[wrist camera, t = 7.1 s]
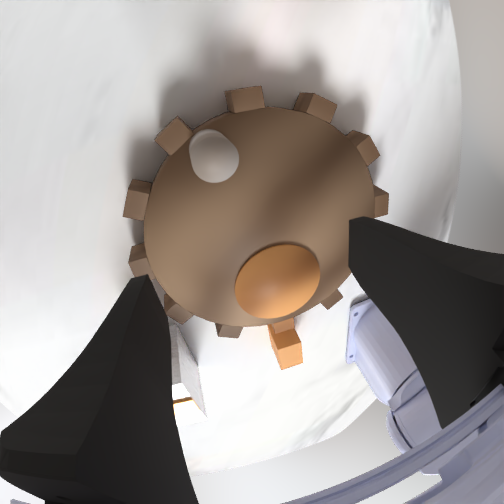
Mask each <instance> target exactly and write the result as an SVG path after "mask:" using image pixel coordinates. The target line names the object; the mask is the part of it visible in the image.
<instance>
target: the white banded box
mask: <svg viewBox="0 0 504 504" xmlns="http://www.w3.org/2000/svg"><path fill="white" fill-rule="evenodd" d="M169 330H170V337H171V354H172V388H173V403H174V411H175V417H176V422H177V426H180V425H185V424H190V423H195V422H200V421H205V420H207V416H206V411H205V405H204V400H203V394H202V388H201V382H200V376H199V370H198V365H197V363H196V362H195V360H194V358H193V356H192V354H191V352H190V350H189V348H188V346H187V344H186V342H185V340H184V338H183V336H182V334H181V332H180V330H179V328H178V326H177V324H173V325H169Z"/></svg>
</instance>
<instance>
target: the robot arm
mask: <svg viewBox="0 0 504 504" xmlns="http://www.w3.org/2000/svg"><path fill="white" fill-rule="evenodd" d="M348 267H349V268H350V270H351V272H352V273H353V275H354V277H355V278H356V280H357V282H358V283H359V285H360V286H361V288H362V289H363V290H364V291H365V293H366V294H367V295H368V296H369V298H370V299H368V300H366V301H363V302H360V303H358V304H355V305H353V306H352V307H351V309H350V321H349V333H348V343H347V353H346V363H347V364H350V363H353V362H355V363H356V364H357V366H358V368H359V369H360V371H361V373H362V374H363V376H364V378H365V379H366V381H367V383H368V384H369V386H370V388H371V389H372V391H373V393H374V394H375V396H376V397H377V399H379V400H380V401H381V402H382V403H384V404H386V405H388V406H390V408H391V410H389V411H388V412H387V419H386V426H387V430H388V432H389V435H390V437H391V439H392V441H393V442H394V444H395V445H396V447H397V448H398V449H399V451H400V452H401V453H402V455H400V456H398V457H396V458H394V459H393V460H391V461H389V462H387V463H385V464H383V465H381V466H379V467H377V468H375V469H373V470H371V471H369V472H366V473H364V474H362V475H360V476H358V477H355V478H353V479H351V480H349V481H346V482H344V483H341V484H339V485H336V486H333V487H331V488H328V489H325V490H323V491H320V492H317V493H314V494H311V495H309V496H305V497H302V498H299V499H296V500H292V501H289V502H285V503H282V504H355V503H358V502H360V501H362V500H364V499H366V498H369V497H371V496H373V495H375V494H377V493H379V492H381V491H383V490H385V489H387V488H389V487H391V486H393V485H395V484H397V483H398V482H400V481H402V480H404V479H406V478H407V477H409V476H411V475H413V474H414V473H416V472H417V471H420V472H421V473H422V474H424V475H440V476H441V478H442V481H440V482H439V483H437V484H436V485H434V486H432V487H431V488H429V489H428V490H426V491H424V492H423V493H421V494H419V495H418V496H416V497H414V498H413V499H411V500H409V501H407V502H405V503H404V504H504V254H498V253H491V252H485V251H479V250H474V249H469V248H465V247H461V246H457V245H453V244H449V243H446V242H442V241H439V240H436V239H433V238H429V237H426V236H423V235H420V234H417V233H414V232H412V231H409V230H406V229H403V228H400V227H397V226H395V225H392V224H389V223H386V222H383V221H380V220H376V219H373V218H369V217H365V216H362V217H358V218H354V219H350V220H349V255H348ZM0 476H1V477H2V478H3V479H4V480H6V481H7V482H9V483H11V484H12V485H14V486H16V487H18V488H20V489H22V490H24V491H26V492H28V493H30V494H32V495H34V496H36V497H38V498H41V499H43V500H45V504H199V503H198V500H197V498H196V494H195V492H194V489H193V486H192V483H191V480H190V476H189V473H188V469H187V466H186V462H185V458H184V455H183V450H182V446H181V442H180V437H179V433H178V428H177V422H176V417H175V411H174V403H173V388H172V354H171V337H170V330H169V323H168V317H167V315H166V313H165V311H164V309H163V307H162V304H161V302H160V300H159V298H158V296H157V293H156V291H155V289H154V287H153V285H152V282H151V280H150V278H149V275H148V274H145V275H142V276H138V277H135V278H131V280H130V281H129V282H128V284H127V285H126V287H125V288H124V290H123V292H122V293H121V295H120V296H119V298H118V299H117V301H116V303H115V304H114V306H113V307H112V309H111V310H110V312H109V314H108V315H107V317H106V318H105V320H104V321H103V323H102V324H101V326H100V327H99V329H98V330H97V332H96V333H95V335H94V336H93V338H92V339H91V341H90V342H89V343H88V345H87V346H86V348H85V349H84V350H83V352H82V353H81V354H80V355H79V357H78V358H77V359H76V360H75V362H74V363H73V364H72V365H71V367H70V368H69V369H68V370H67V371H66V372H65V373H64V374H63V376H62V377H61V378H60V379H59V380H58V381H57V382H56V383H55V384H54V386H53V387H52V388H51V389H50V390H49V391H48V392H47V393H46V394H45V395H44V396H43V397H42V398H41V399H40V400H39V401H37V402H36V403H35V404H34V405H33V406H32V407H31V408H30V409H29V410H28V411H26V412H25V413H24V414H23V415H22V416H20V417H19V418H18V419H17V420H15V421H14V422H13V423H12V424H10V425H9V426H8V427H7V428H5V429H4V430H3V431H1V435H0ZM11 504H29V503H25V502H21V501H18V500H14V499H12V500H11Z"/></svg>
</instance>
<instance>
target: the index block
mask: <svg viewBox="0 0 504 504" xmlns="http://www.w3.org/2000/svg"><path fill="white" fill-rule="evenodd" d="M268 330H269V335H270V340H271V345H272V348H273V350H274V353H275V355H276V358H277V360H278V363H279V365H280V368H281V370H283V369H286V368H289V367H292V366H295V365H298V364H301V363H303V358H302V346H301V341H300V339H299V337H298V335H297V333H296V331H295V329H294V328H293V329H290V330H286V331H283V332H280V333H277V334H275V332H274V330H273V327H272V325H271V324H269V325H268Z"/></svg>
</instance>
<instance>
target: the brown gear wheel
mask: <svg viewBox="0 0 504 504" xmlns="http://www.w3.org/2000/svg"><path fill="white" fill-rule="evenodd" d="M225 96H226V101H227V106H228V111H230V112H227V113H224V114H221V115H219V116H217V117H214V118H212V119H210V120H208V121H206V122H205V123H203V124H201V125H200V126H198V127H197V128H195V129H194V130H193V131H192V130H191V129H190V128H189V127H188V126H187V125H186V124H185V123H184V122H183V121H182V120H181V119H180V118H179V117H178V116H177V117H176V118H175V119H173V120H172V121H171V122H170V123H169V124H168V125H167V126H166V127H165V128H164V129H163V130H162V131H161V132H160V133H159V134H158V135H157V137H156V139H155V141H156V142H157V143H158V144H159V145H160V146H161V147H162V148H163V149H164V150H165V151H166V152H167V153H168V156H167V157H166V159H165V160H164V162H163V163H162V165H161V166H160V168H159V170H158V173H157V175H156V177H155V179H154V181H153V184H152V183H149V182H144V181H140V180H135V179H133V180H132V182H131V184H130V186H129V188H128V192H127V196H126V202H125V207H124V212H123V217H126V218H131V219H136V220H141V221H143V220H144V243H142V244H138V245H135V246H132V248H131V252H130V257H129V262H128V263H129V266H130V268H131V270H132V272H133V274H134V276H135V277H138V276H142V275H145V274H148V275H149V278H150V280H153V279H157V281H158V282H159V284H160V285H161V286H162V288H163V289H164V291H165V292H166V294H165V295H164V311H165V313H166V315H168V316H169V317H171V318H172V319H174V320H175V321H177V322H179V323H180V324H183V323H185V322H186V321H187V320H188V319H189V318H191V317H192V316H193V315H196V316H198V317H200V318H203V319H205V320H208V321H211V322H215V325H216V330H217V334H218V337H229V338H238V337H239V335H240V333H241V331H242V329H243V327H250V326H262V325H268V324H271V325H272V327H273V330H274V332H275V334H277V333H280V332H283V331H286V330H290V329H293V328H295V326H294V317H295V316H297V315H299V314H301V313H303V312H306V311H308V310H309V309H311V308H313V307H314V306H316V305H318V304H319V303H321V304H322V305H323V306H324V307H325V308H326V309H327V310H328V309H330V308H331V307H332V306H333V305H334V304H336V303H337V302H338V301H339V300H341V299H342V298H343V296H342V295H341V293H340V292H339V291H338V289H337V288H339V286H340V285H341V284H342V283H343V282H344V281H345V280H346V279H347V278H348V276H349V275H350V274H351V270H350V268H349V267H348V255H349V220H350V219H354V218H358V217H362V216H365V217H369V218H373V219H374V218H376V217H380V216H384V215H387V214H388V201H389V193H387V192H385V191H384V190H382V189H380V188H379V187H377V186H375V185H373V183H372V179H371V176H370V173H369V170H368V168H367V166H369V165H370V164H371V163H372V162H373V161H374V160H375V159H377V158H378V157H379V156H380V154H379V152H378V150H377V148H376V146H375V144H374V143H373V141H372V139H371V137H370V136H369V135H366V134H363V133H360V132H357V131H353V130H352V131H351V132H350V133H349V134H347V135H346V136H345V135H344V134H343V133H341V132H340V131H339V130H338V129H336V128H335V127H334V126H332V125H331V124H329V123H331V120H332V118H333V115H334V113H335V110H336V108H337V104H335V103H333V102H331V101H329V100H327V99H325V98H323V97H321V96H318V95H316V94H314V93H300V94H299V96H298V99H297V101H296V104H295V106H294V109H293V110H289V109H284V108H278V107H265V104H264V98H263V92H262V87H261V86H254V87H247V88H241V89H235V90H230V91H225ZM294 110H295V111H294ZM151 185H152V187H151ZM150 189H151V191H150ZM149 193H150V194H149ZM145 211H146V212H145ZM144 215H145V219H144Z"/></svg>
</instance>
